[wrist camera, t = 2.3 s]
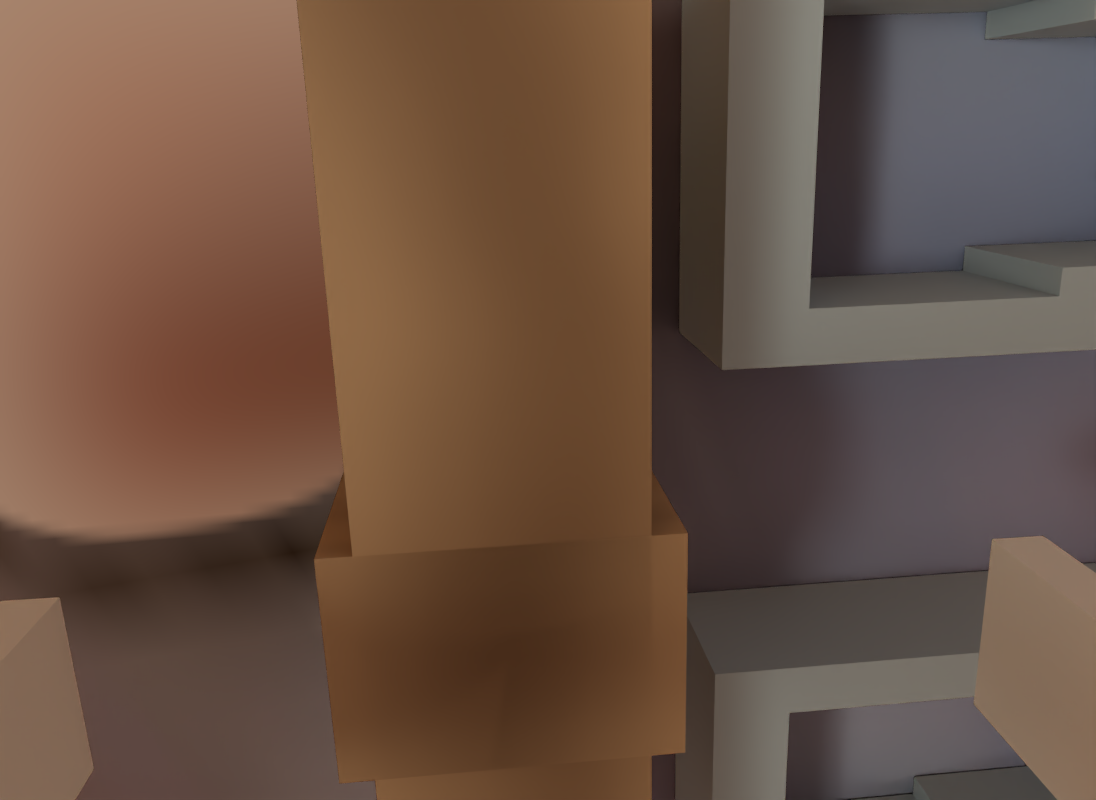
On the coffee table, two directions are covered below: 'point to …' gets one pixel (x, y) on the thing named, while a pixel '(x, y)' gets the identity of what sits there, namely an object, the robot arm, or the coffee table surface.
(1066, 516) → the coffee table surface
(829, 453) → the coffee table surface
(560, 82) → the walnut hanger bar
